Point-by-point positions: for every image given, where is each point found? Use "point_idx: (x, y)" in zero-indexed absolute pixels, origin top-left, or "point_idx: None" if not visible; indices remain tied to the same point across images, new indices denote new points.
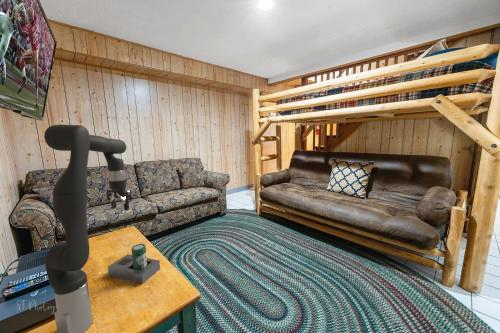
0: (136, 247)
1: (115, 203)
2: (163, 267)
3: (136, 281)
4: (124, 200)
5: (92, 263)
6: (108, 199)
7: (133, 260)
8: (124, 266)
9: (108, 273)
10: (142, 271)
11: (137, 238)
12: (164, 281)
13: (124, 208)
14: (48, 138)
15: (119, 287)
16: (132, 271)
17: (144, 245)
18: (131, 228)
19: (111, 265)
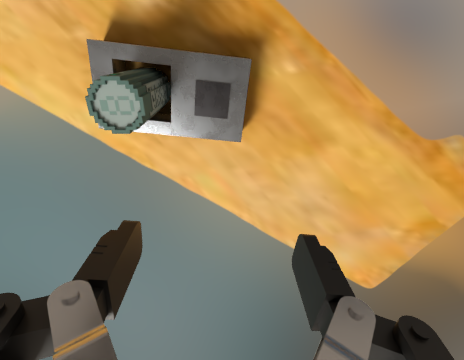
0: (126, 103)
1: (305, 299)
2: None
3: (127, 43)
4: (53, 331)
5: (354, 106)
6: (410, 336)
7: (137, 72)
8: (189, 71)
9: (249, 58)
10: (100, 56)
11: None
12: (48, 66)
13: (125, 232)
14: None
15: (162, 7)
16: (135, 49)
17: (99, 121)
18: (363, 285)
19: (242, 68)
